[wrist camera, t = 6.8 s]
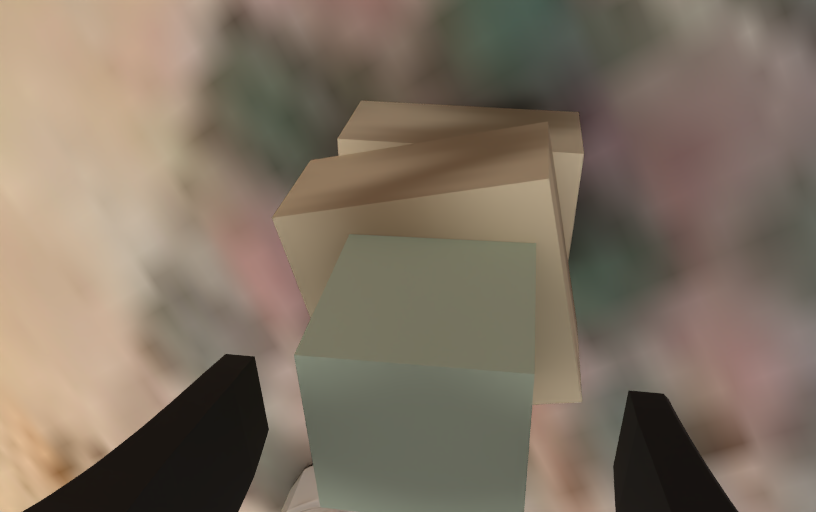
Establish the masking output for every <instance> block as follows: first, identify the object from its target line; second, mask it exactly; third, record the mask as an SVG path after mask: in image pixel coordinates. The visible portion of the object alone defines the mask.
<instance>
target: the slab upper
mask: <svg viewBox="0 0 816 512" xmlns="http://www.w3.org/2000/svg"><path fill="white" fill-rule="evenodd" d="M272 220H273V222H274V225H275V227H276V230H277V233H278V235H279V238H280V240H281V243H282V245H283V248H284V251H285V253H286V256H287V258H288V261H289V264H290V266H291V269H292V271H293V274H294V276H295V279H296V282H297V284H298V287H299V289H300V292H301V295H302V297H303V300H304V302H305V305H306V307H307V310H308V313H309V315H310V318H311V317H312V315H313V313H314V311H315V308H316V306H317V304H318V302H319V300H320V297H321V295H322V293H323V291H324V289H325V287H326V284H327V282H328V280H329V278H330V276H331V273H332V271H333V269H334V267H335V265H336V262H337V260H338V258H339V256H340V254H341V252H342V249H343V247H344V245H345V243H346V241H347V238H348V236H349V234H356V235H377V236H397V237H417V238H438V239H458V240H479V241H499V242H519V243H536V303H535V375H534V388H533V401H532V405H538V404H556V403H574V402H582V392H581V377H580V362H579V348H578V333H577V321H576V314H575V307H574V300H573V293H572V286H571V279H570V272H569V265H568V258H567V251H566V244H565V237H564V230H563V223H562V216H561V209H560V202H559V195H558V188H557V181H556V174H555V167H554V160H553V153H552V146H551V139H550V132H549V125H548V122H542V123H536V124H530V125H524V126H518V127H511V128H505V129H499V130H493V131H487V132H481V133H475V134H469V135H462V136H456V137H450V138H444V139H438V140H432V141H426V142H420V143H414V144H408V145H402V146H396V147H390V148H384V149H378V150H372V151H366V152H360V153H354V154H347V155H341V156H334V157H328V158H322V159H315V160H310V162H309V163H308V165H307V166H306V168H305V169H304V171H303V172H302V174H301V175H300V177H299V178H298V180H297V181H296V183H295V184H294V186H293V187H292V189H291V190H290V192H289V193H288V195H287V196H286V198H285V199H284V201H283V202H282V204H281V205H280V206H279V208H278V209H277V211H276V212H275V214H274V215H273V217H272Z"/></svg>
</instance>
